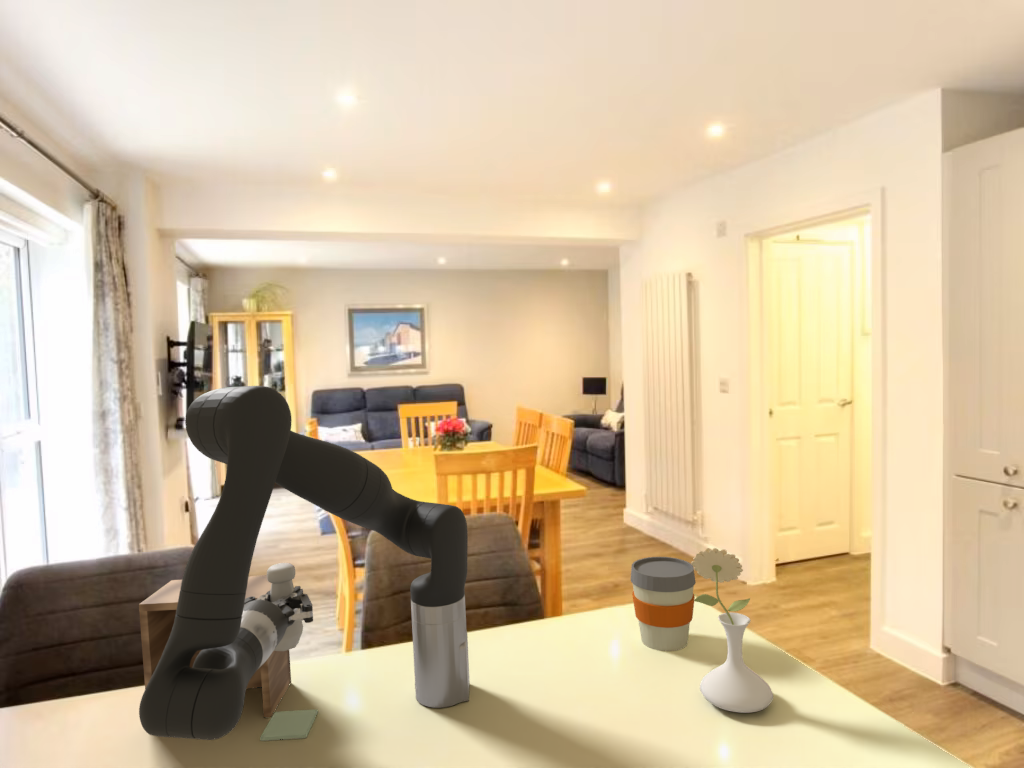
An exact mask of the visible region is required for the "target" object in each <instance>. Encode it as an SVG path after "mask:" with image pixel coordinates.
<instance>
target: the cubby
mask: <svg viewBox="0 0 1024 768" xmlns="http://www.w3.org/2000/svg"><path fill="white" fill-rule="evenodd" d="M181 583H182V579H171V580H170V581H168V582H167V583H165V585H163V586H162V587H160V588H159V589H158V590H156V591H155V592H154V593H152V594H150V595H149V596H148V597H147V598H146V599H144V600H142V602H140V603H138V610H139V611H138V613H139V625H140V639H141V650H142V652H141V653H142V663H143V667H142V668H143V676H144V690H145V689H146V687H147V685H148V683H149V680H150V678H151V677H152V675H153V673H154V671H155V669H156V667H157V664H158V662H159V660H160V658H161V656H162V653H163V651H164V649H165V646H166V644H167V641H168V639H169V636H170V634H171V631H172V628H173V624H174V620H175V615H176V610H177V604H178V599H179V594H180V590H181V589H180V588H181ZM270 590H271V583H270V582H268V580H267V574H263V575H262V574H261V575H249V577H248V584H247V590H246V596H245V599H246V598H248V597H251V596H254V597H255V599H257V598H259V597H260V596H261V595H263V594H266V593H267V592H268V591H270ZM200 651H201V650H199V651H197V652H196V653H195V654H194V656H193V657H192V659H191V662H190V666H189V667H191V668H193V664H194V661H195V659H196V657H197V656H198V654H199V653H200ZM291 670H292V669H291V658H290V649H289V650H286V651H273V652H272V654H271V655H270V656H269V658H268V659H267V660H266V662H265V663H264V664H263V665H262V666H261V667H260V668H259V669H258V670H257V671H256V672H255V674H254V675H253V676H252V678H251V679H250V680H249V683H248V685H247V688H246V690H249V689H248V688H252V689H258V688H257V687H262V688H261V692H262V694H261V695H262V709H263V710H262V711H263V718H264V717H267V718H272V717H271V716H273V715H272V714H274V713H275V712H276V710H277V708H278V706H279V705H280V703H281V701H282V700H281V698H282V697H283V698H284V696H285V695H286V693H287V691H288V689H289V688H288V687H290V686H289V684H290V683H291V684H292V673H291ZM291 684H290V685H291ZM287 688H288V689H287ZM286 690H287V691H286ZM285 692H286V693H285ZM283 695H284V696H283ZM283 698H282V699H283ZM280 700H281V701H280ZM279 702H280V703H279ZM278 704H279V705H278ZM277 705H278V706H277ZM276 707H277V708H276ZM275 709H276V710H275ZM274 711H275V712H274ZM273 712H274V713H273Z"/></svg>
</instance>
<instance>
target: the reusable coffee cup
mask: <svg viewBox="0 0 1024 768" xmlns="http://www.w3.org/2000/svg"><path fill="white" fill-rule="evenodd" d="M630 568H631V569H630V581H631V583H632V587H633V590H632V593H631V596H632V601H633V607H634V614H635V617H636V619H637V620H638V626H639V632H640V638H641V642H642V644H643V645H645V646H646V647H647V648H650V649H652V650H655V651H661V652H672V651H673V652H676V651H678V650H682V649H684V648H685V647H687V646H688V643H689V642H688V641H689V632H690V623H691V622H692V621H693V617H694V607H695V601H694V600H695V599H696V597H695V594H694V586H695V585H696V581H697V580H696V577H695V576H696V575H695V574H696V573H695V570H694V566H693V565H692V564H691V563H690V562H689V561H687V560H684V559H680V558H677V557H671V556H670V557H669V556H650V557H649V556H648V557H644V558H640V559H637V560H635V561H633V562H632V564H631V567H630Z"/></svg>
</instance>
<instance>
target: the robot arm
mask: <svg viewBox="0 0 1024 768" xmlns="http://www.w3.org/2000/svg"><path fill="white" fill-rule="evenodd" d="M292 422H293V421H292V413H291V409H290V405H289V403H288V402H287V400H286V398H285V397H284V396H283V395H282V393H280V392H278V390H276V389H275V388H272V387H270V386H266V385H265V386H264V385H245V386H243V385H242V386H231V387H220V388H216V389H212V390H210V391H208V392H205V393H203V394H201V395H199V396H198V397H197V398H195V399H194V400H193V401H192V402H191V404H190V405H189V406H188V408H187V411H186V413H185V421H184V423H185V430H186V434H187V436H188V438H189V439H190V442H191V444H192V445H193V447H195V449H197V451H198V452H200V453H201V454H202V455H203V456H205V457H207V458H208V459H211V460H213V461H217V462H219V463H221V464H226V473H225V480H224V484H223V487H222V491H221V494H220V498H219V501H218V502H217V505H216V507H215V509H214V511H213V513H212V516H211V517H210V519H209V521H208V523H207V524H206V526H205V528H204V530H203V532H202V533H201V534H200V537H199V538H198V540H197V541H196V544H195V545H194V547H193V549H192V551H191V553H190V555H189V557H188V560H187V562H186V565H185V567H184V570H183V574H182V577H181V580H182V583H181V588H180V589H181V590H180V594H179V599H178V604H177V610H176V615H175V620H174V624H173V628H172V631H171V634H170V636H169V639H168V641H167V644H166V646H165V649H164V651H163V653H162V656H161V658H160V660H159V662H158V664H157V667H156V669H155V671H154V673H153V675H152V677H151V678H150V680H149V683H148V685H147V687H146V689H145V688H144V692H143V693H142V696H141V698H140V701H139V702H140V703H139V708H138V714H139V721H140V724H141V726H142V729H143V730H144V731H145V732H146V733H147V734H148V735H150V736H153V737H161V738H162V737H163V738H176V739H177V738H178V739H191V740H203V741H204V740H205V741H210V740H211V741H212V740H217V739H221V738H222V737H225V736H226V735H228V734H229V733H230V732H232V731H233V730H234V729H235V728H236V726H237V724H238V723H239V721H240V719H241V717H242V713H243V709H244V704H245V699H246V692H247V691H246V690H247V689H246V688H247V685H248V683H249V680H250V679H251V678H252V676H253V675H254V674H255V672H256V671H257V670H258V669H259V668H260V667H261V666H262V665H263V664H264V663H265V662H266V660H267V659H268V658H269V656H270V655H271V654H272V652H273V651H274V649H275V648H276V647H277V645H278V644H279V643H280V641H281V640H282V638H283V636H284V634H285V632H286V629H287V627H289V626H291V625H292V624H293V623H294V622H295V620H298V619H301V620H302V621H304V623H306V624H309V623H313V622H314V611H313V610H314V609H313V603H312V601H311V598H310V596H309V595H308V594H306V593H304V588H302V587H301V586H300V585H295V586H294V591H293V592H292V593H291V594H289V595H288V596H282V597H281V598H280V599H278V600H277V601H276V602H270V594H271V593H270V591H271V590H270V591H268V592H267V593H266V594H263V595H261V596H260V597H259V598H257V599H255V597H254V596H251V597H248V598H246V599H245V596H246V590H247V584H248V577H249V576H250V571H251V565H252V563H253V562H252V561H253V557H254V553H255V548H256V544H257V541H258V537H259V535H260V531H261V527H262V524H263V521H264V518H265V515H266V512H267V509H268V506H269V503H270V500H271V497H272V493H273V491H274V487H275V485H278V486H279V487H282V489H284V490H286V491H289V492H290V493H292V494H293V495H295V496H298V497H299V498H301V499H303V500H305V501H306V502H309V503H311V504H313V505H314V506H317V507H318V508H320V509H322V510H323V511H326V512H327V513H330V514H332V515H334V516H335V517H337V518H340V519H342V520H344V521H347V522H348V523H351V524H354V525H356V526H359V527H362V528H364V529H367V530H370V531H374V532H376V533H378V534H380V535H381V536H382V537H384V538H386V539H387V540H388V541H390V542H391V543H392V544H394V545H395V546H396V547H398V548H399V549H401V550H403V551H404V552H406V553H408V554H409V555H412V556H415V557H420V558H426V559H430V563H431V564H430V572H427V573H423V574H421V575H419V576H417V577H416V578H414V579H413V580H412V582H411V583H410V586H409V587H410V591H409V592H410V607H411V609H410V611H411V627H412V628H411V631H412V649H413V650H412V651H413V652H412V653H413V671H414V689H415V698H416V701H417V703H419V704H420V705H422V706H426V707H429V708H435V709H436V708H438V709H440V708H449V707H451V706H455V705H457V704H460V703H462V702H468V701H469V699H470V665H469V664H470V663H469V641H468V638H469V637H468V631H467V617H466V595H465V594H466V593H465V592H466V591H465V590H466V589H465V588H466V587H465V586H466V581H467V577H468V545H469V544H468V536H469V535H468V532H469V531H468V523H467V519H466V516H465V513H464V511H463V510H462V509H461V508H460V507H458V506H456V505H451V504H445V503H437V502H436V503H435V502H427V501H420V500H416V499H413V498H410V497H408V496H405V495H404V494H401V493H399V492H397V491H396V490H394V489H393V485H392V483H391V480H390V478H389V477H388V475H387V474H386V473H385V472H384V471H383V469H382V468H380V467H379V466H378V465H377V464H375V463H374V462H372V461H371V460H368V459H367V458H366V457H364V456H362V455H361V454H359V453H357V452H355V451H353V450H351V449H349V448H346V447H344V446H341V445H339V444H335V443H332V442H329V441H325V440H322V439H319V438H315V437H311V436H308V435H304V434H301V433H297V432H295V431H293V430H291V429H292ZM298 608H299V609H298ZM297 609H298V610H297ZM296 610H297V611H296ZM295 611H296V612H295ZM199 650H201V651H200V653H199V654H198V656H197V657H196V659H195V661H194V664H193V668H191V667H189V666H190V662H191V659H192V657H193V656H194V654H195V653H196V652H197V651H199Z"/></svg>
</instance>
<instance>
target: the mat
mask: <svg viewBox="0 0 1024 768" xmlns="http://www.w3.org/2000/svg"><path fill="white" fill-rule="evenodd" d="M318 711H319V710H318V708H317V709H314V708H313V709H302V710H301V709H300V710H299V709H298V710H283V711H282V710H281V711H275V712H274V713H273V715H272V717H270V720H269V721H268V723H267V725H266V726H265V728H264V730H263V732H262V734H261V735H260V740H259V741H260V742H265V741H277V740H278V741H280V739H281V740H282V739H283V740H295V739H296V740H298V739H306V738H307V737H308V735H309V733H310V730H311V728H312V726H313V724H314V722H315V720H316V718H315V717H317V716H316V715H318V714H319V712H318Z"/></svg>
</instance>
